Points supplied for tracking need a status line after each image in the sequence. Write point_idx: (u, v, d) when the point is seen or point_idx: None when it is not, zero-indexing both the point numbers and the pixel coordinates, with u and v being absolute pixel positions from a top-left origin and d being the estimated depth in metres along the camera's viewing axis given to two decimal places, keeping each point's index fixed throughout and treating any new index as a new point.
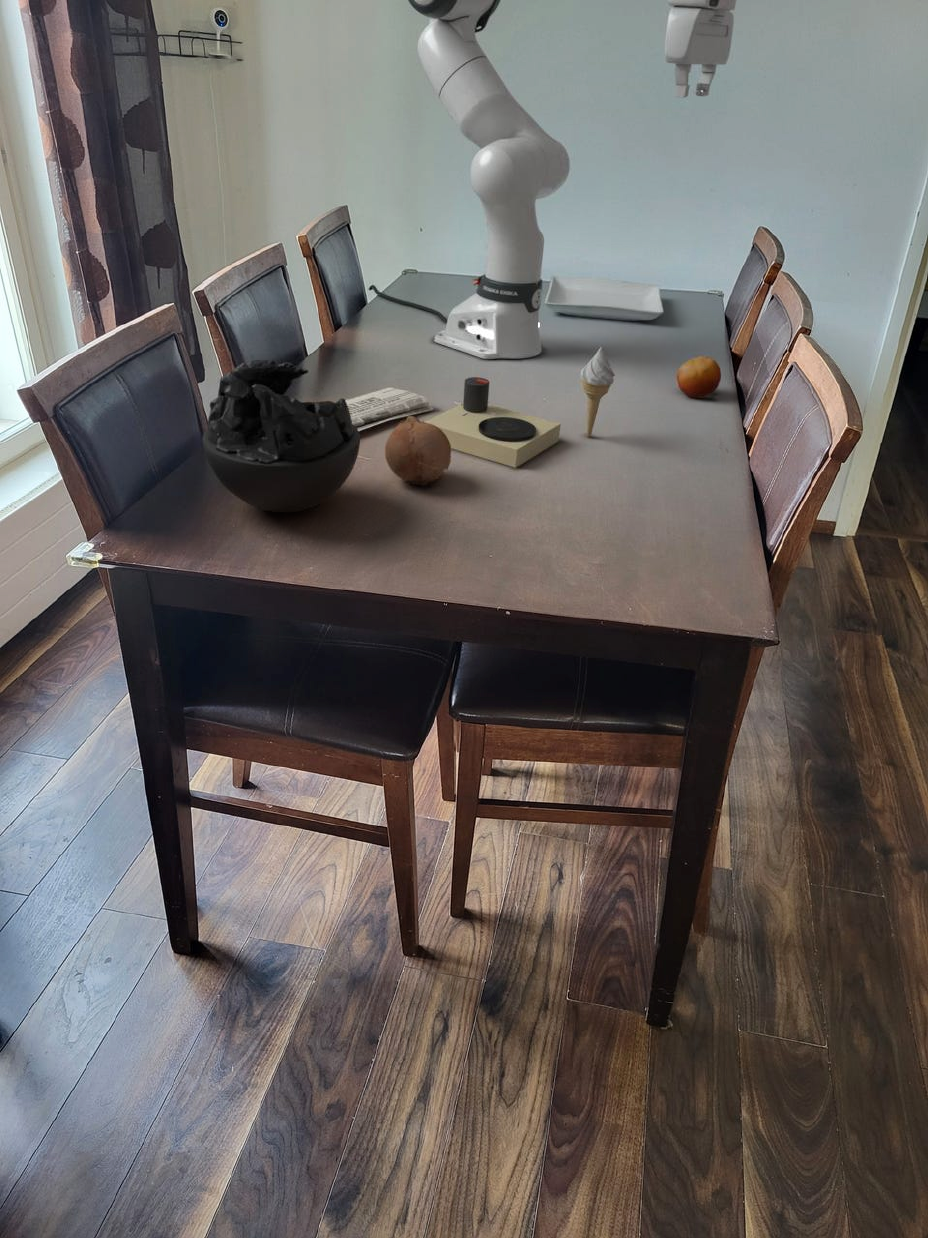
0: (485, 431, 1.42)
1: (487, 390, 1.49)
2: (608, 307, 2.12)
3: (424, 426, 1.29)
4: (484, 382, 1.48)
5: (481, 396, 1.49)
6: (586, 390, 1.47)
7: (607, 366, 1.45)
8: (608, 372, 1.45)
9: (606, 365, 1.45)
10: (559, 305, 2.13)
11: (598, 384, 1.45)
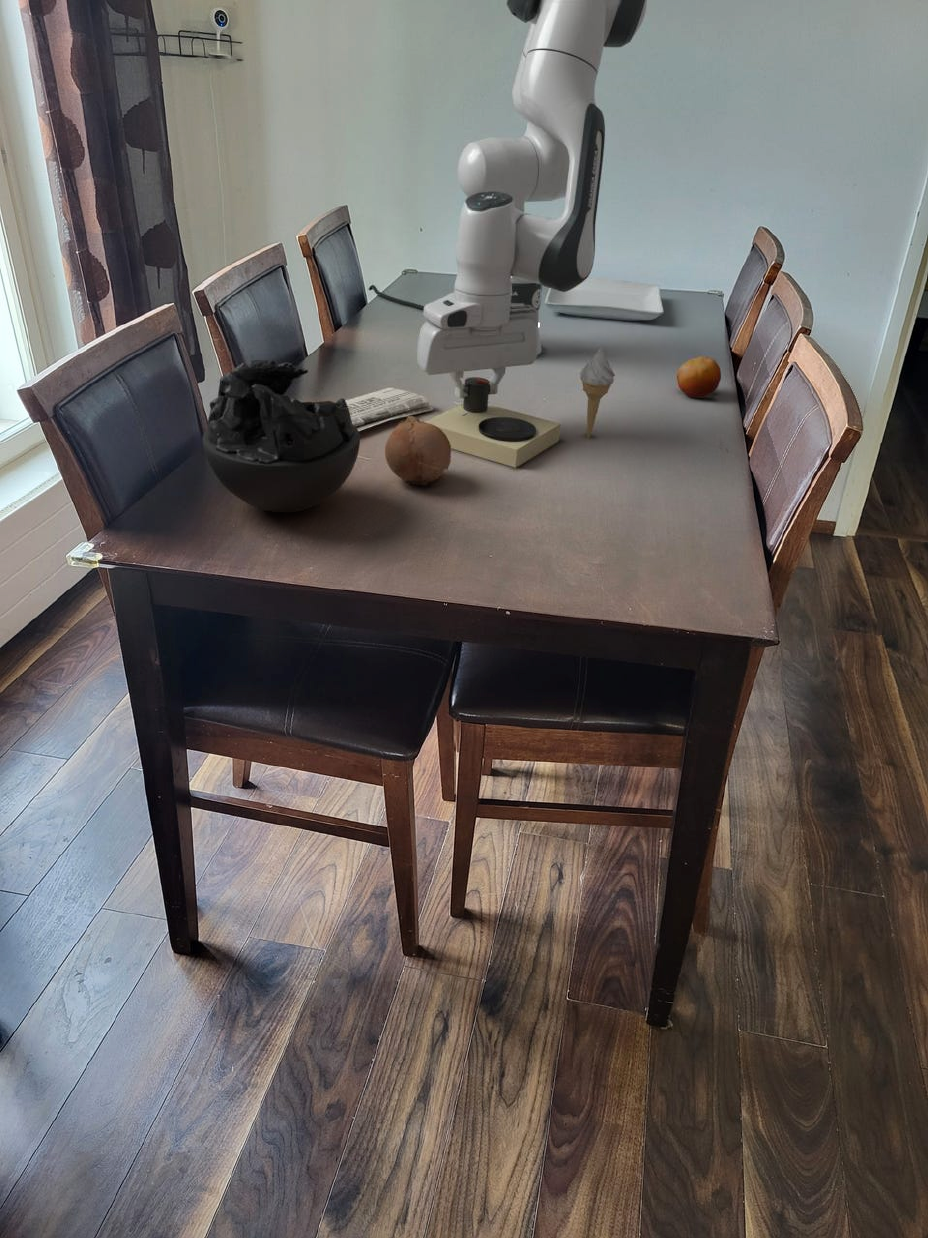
0: (485, 431, 1.42)
1: (487, 390, 1.49)
2: (608, 307, 2.12)
3: (424, 426, 1.29)
4: (484, 382, 1.48)
5: (481, 396, 1.49)
6: (586, 390, 1.47)
7: (607, 366, 1.45)
8: (608, 372, 1.45)
9: (606, 365, 1.45)
10: (559, 305, 2.13)
11: (598, 384, 1.45)
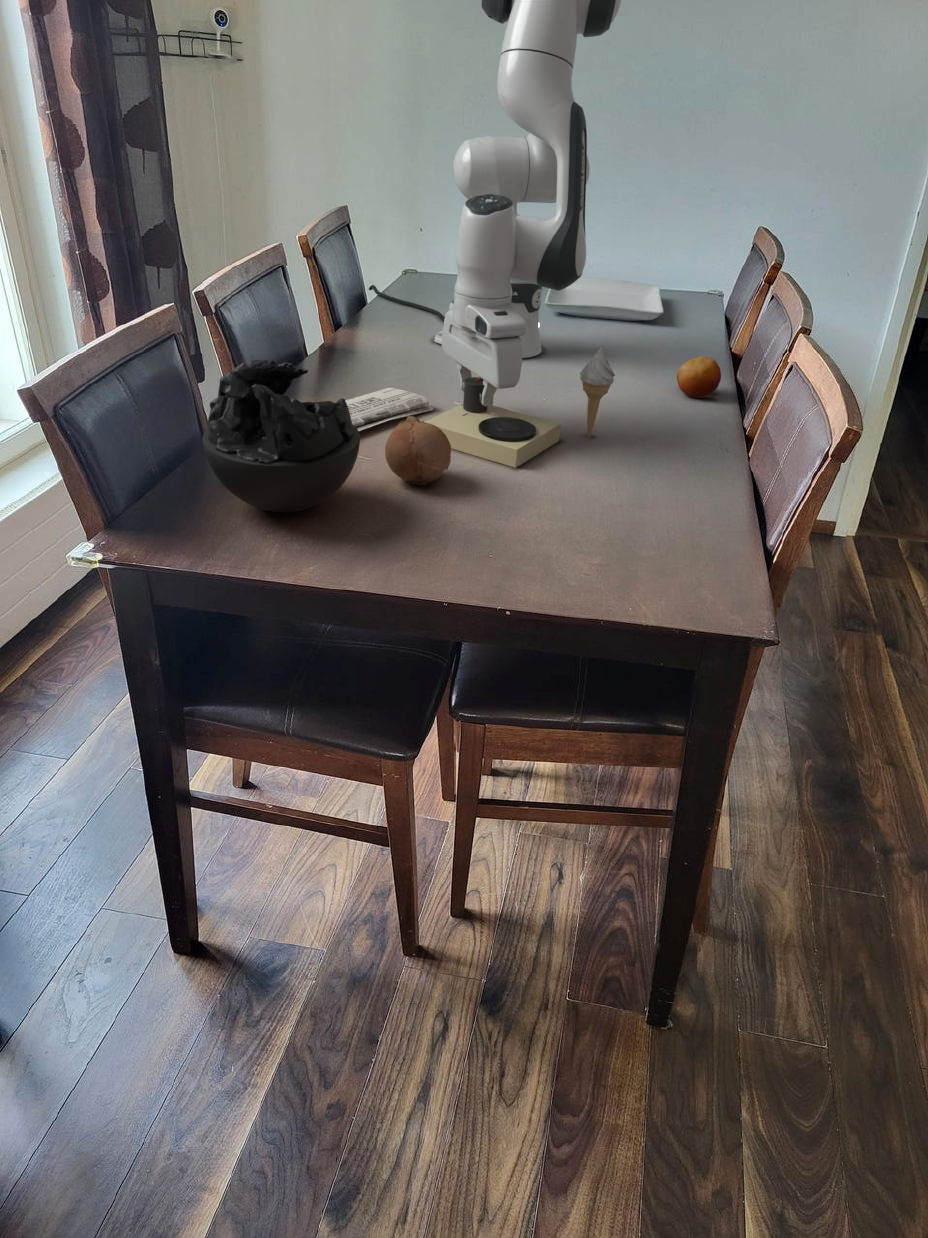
0: (485, 431, 1.42)
1: None
2: (608, 307, 2.12)
3: (424, 426, 1.29)
4: None
5: None
6: (586, 390, 1.47)
7: (607, 366, 1.45)
8: (608, 372, 1.45)
9: (606, 365, 1.45)
10: (559, 305, 2.13)
11: (598, 384, 1.45)
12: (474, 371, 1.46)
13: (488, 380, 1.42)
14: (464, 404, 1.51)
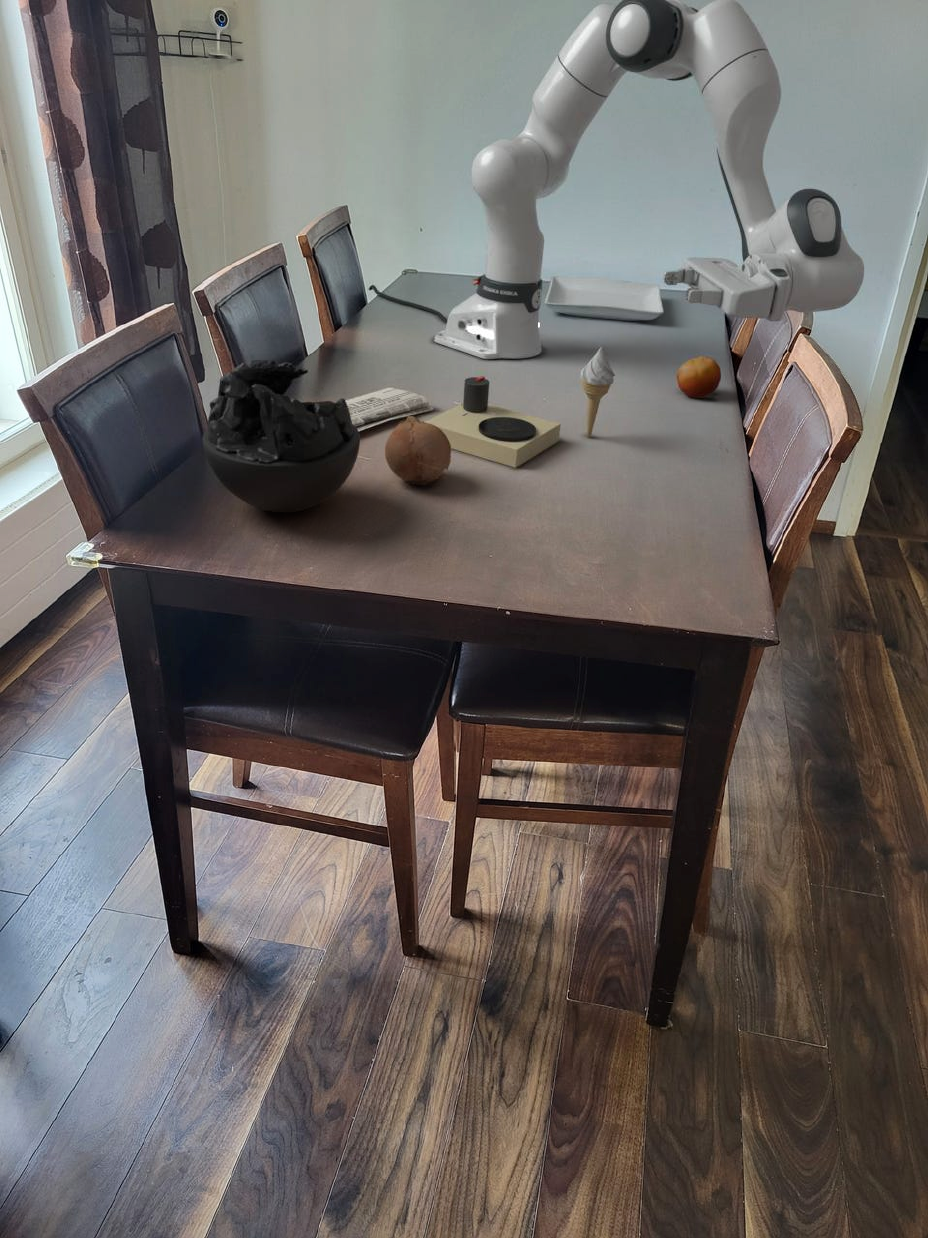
0: (485, 431, 1.42)
1: None
2: (608, 307, 2.12)
3: (424, 426, 1.29)
4: (483, 378, 1.50)
5: None
6: (586, 390, 1.47)
7: (607, 366, 1.45)
8: (608, 372, 1.45)
9: (606, 365, 1.45)
10: (559, 305, 2.13)
11: (598, 384, 1.45)
12: (715, 277, 1.40)
13: (728, 286, 1.36)
14: (464, 404, 1.51)
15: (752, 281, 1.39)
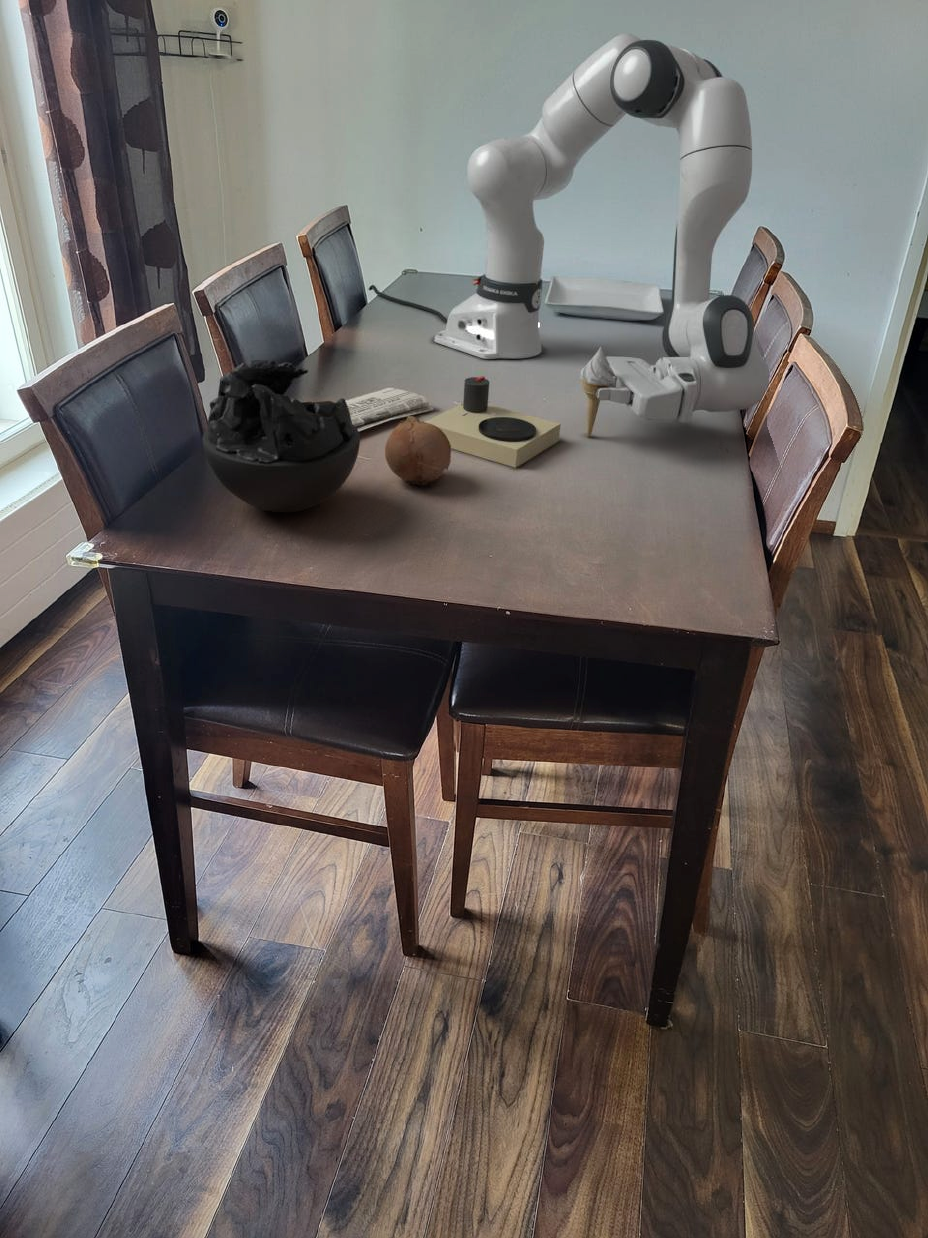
0: (485, 431, 1.42)
1: None
2: (608, 307, 2.12)
3: (424, 426, 1.29)
4: (483, 378, 1.50)
5: None
6: (586, 390, 1.47)
7: (607, 366, 1.45)
8: (608, 372, 1.45)
9: (606, 365, 1.45)
10: (559, 305, 2.13)
11: (598, 384, 1.45)
12: (627, 379, 1.46)
13: (638, 389, 1.42)
14: (464, 404, 1.51)
15: (662, 384, 1.45)
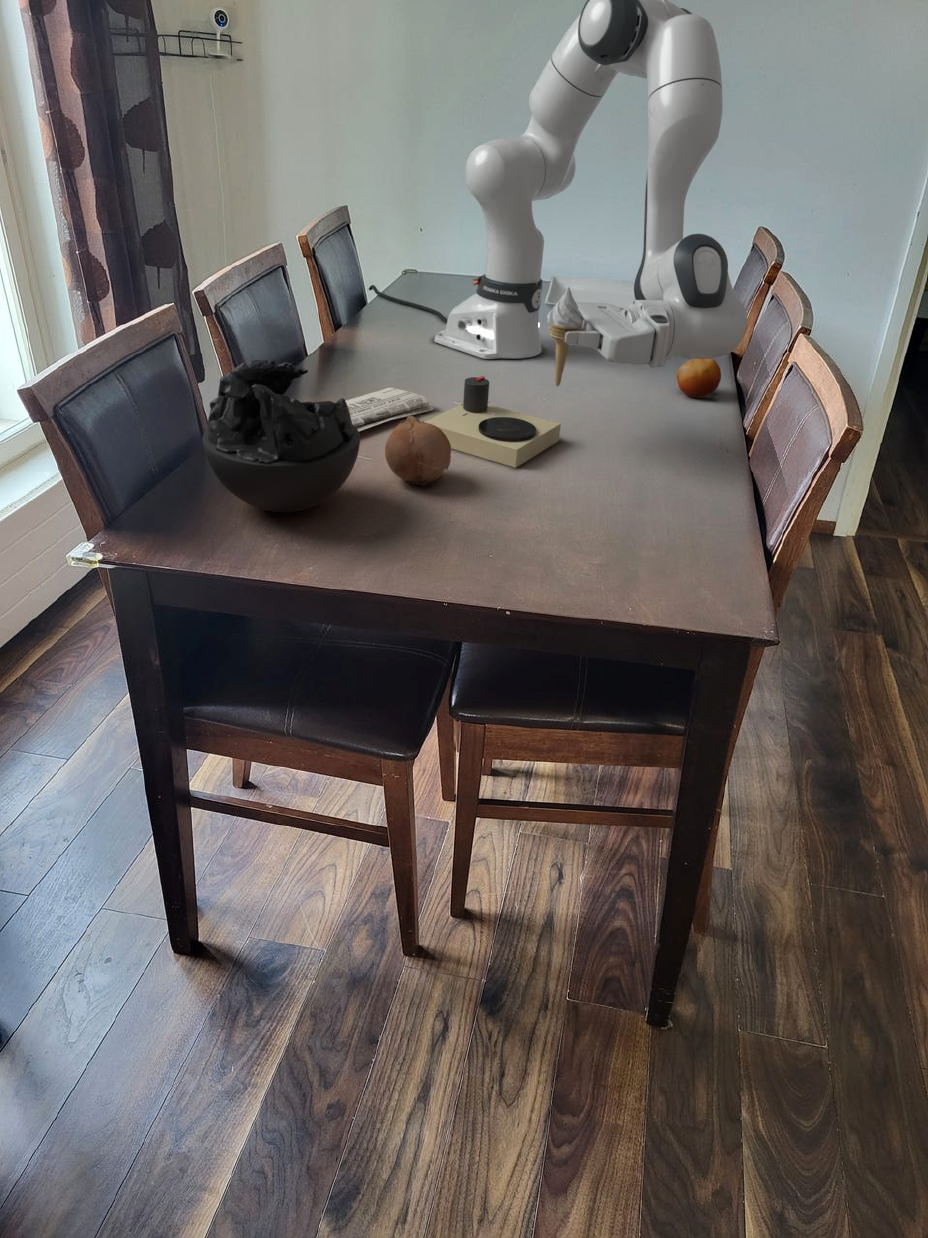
0: (485, 431, 1.42)
1: None
2: None
3: (424, 426, 1.29)
4: (483, 378, 1.50)
5: None
6: (554, 334, 1.39)
7: (575, 308, 1.37)
8: (576, 314, 1.37)
9: (574, 307, 1.37)
10: None
11: (566, 327, 1.37)
12: (596, 322, 1.38)
13: (607, 331, 1.34)
14: (464, 404, 1.51)
15: (633, 327, 1.37)
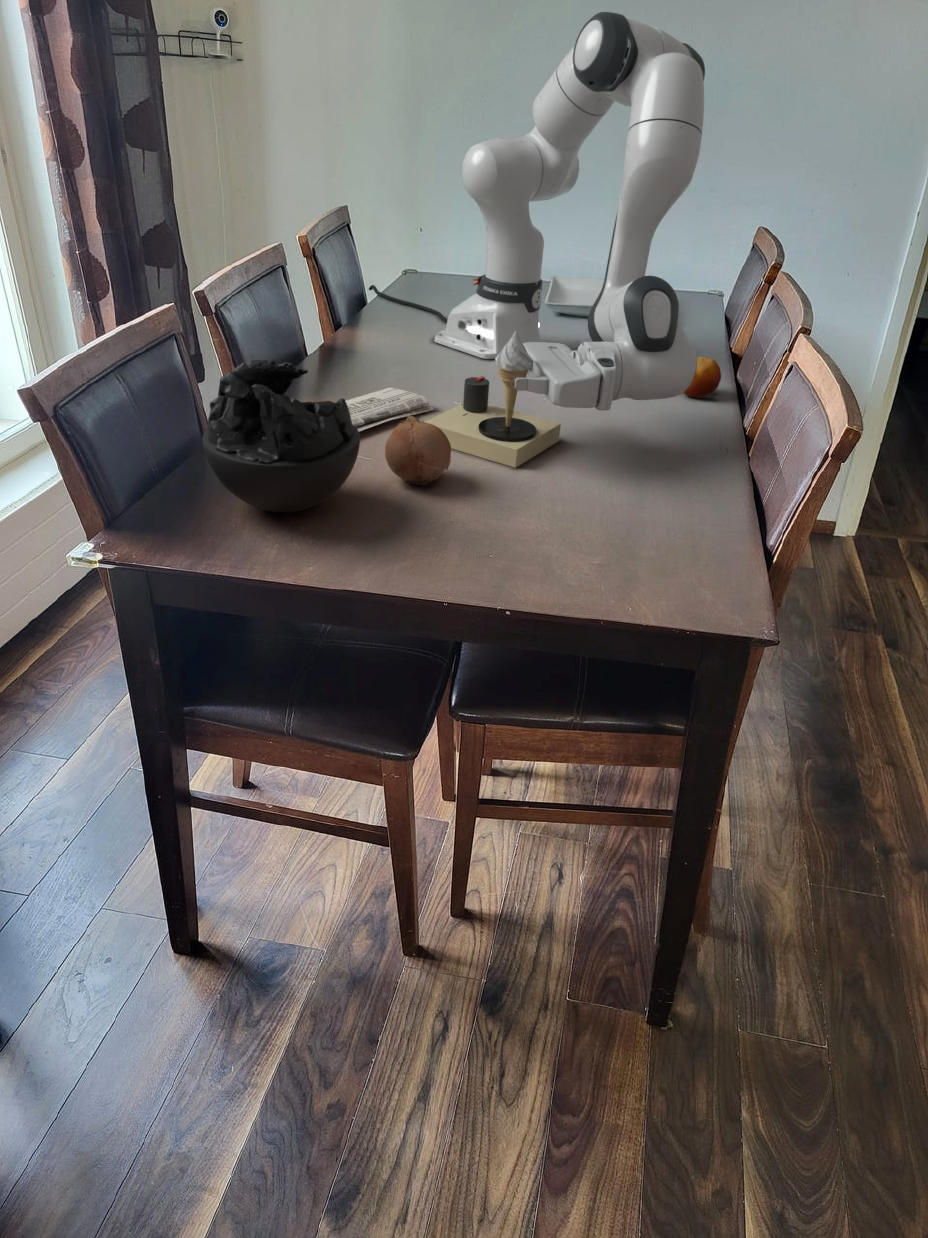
0: (485, 431, 1.42)
1: None
2: None
3: (424, 426, 1.29)
4: (483, 378, 1.50)
5: None
6: (502, 377, 1.38)
7: (523, 351, 1.36)
8: (524, 357, 1.37)
9: (521, 350, 1.36)
10: (559, 305, 2.13)
11: (513, 370, 1.36)
12: (544, 365, 1.38)
13: (553, 375, 1.34)
14: (464, 404, 1.51)
15: (580, 370, 1.37)
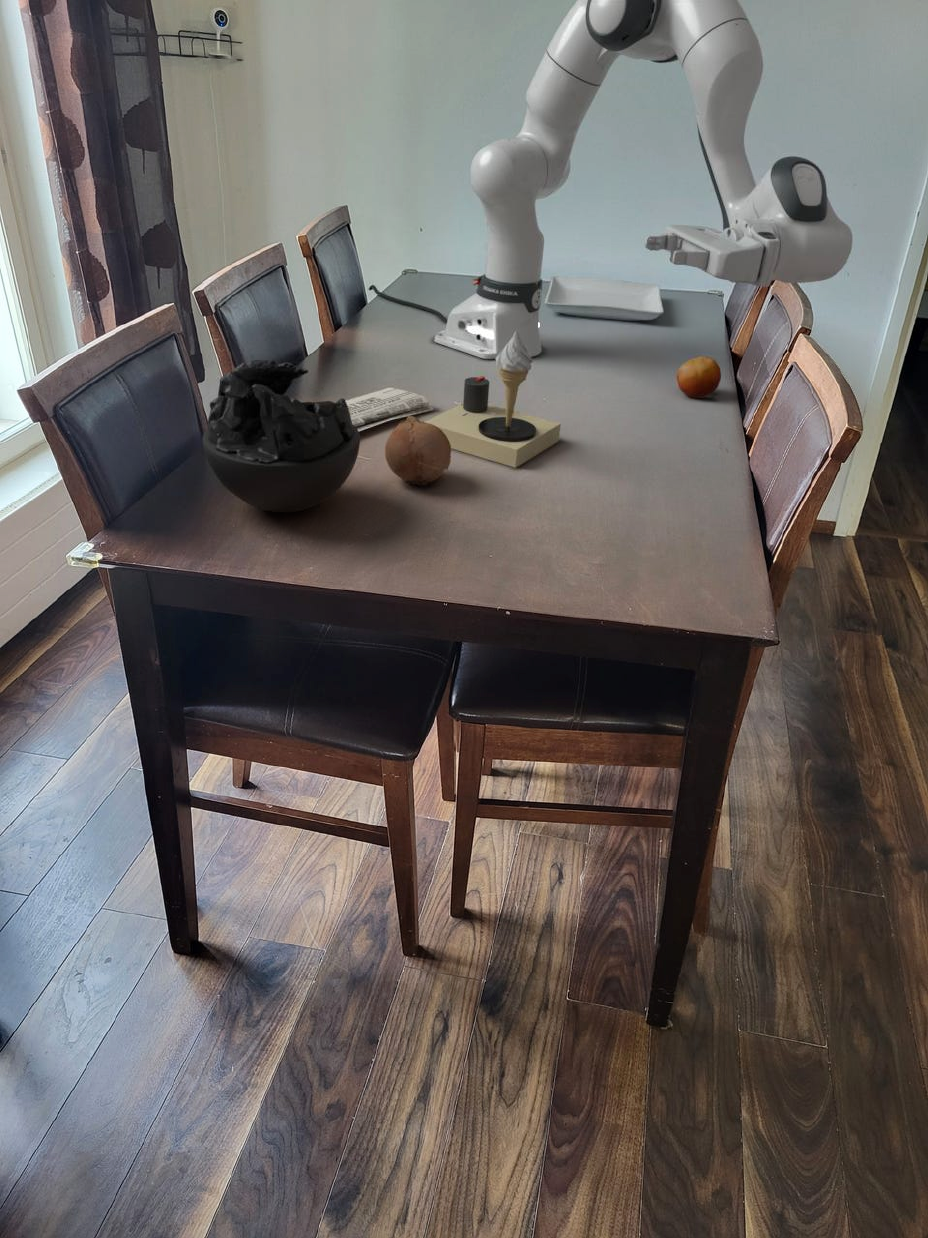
0: (485, 431, 1.42)
1: None
2: (608, 307, 2.12)
3: (424, 426, 1.29)
4: (483, 378, 1.50)
5: None
6: (503, 377, 1.38)
7: (523, 351, 1.36)
8: (525, 358, 1.37)
9: (522, 350, 1.36)
10: (559, 305, 2.13)
11: (514, 370, 1.36)
12: (700, 240, 1.33)
13: (714, 246, 1.29)
14: (464, 404, 1.51)
15: (739, 244, 1.32)
